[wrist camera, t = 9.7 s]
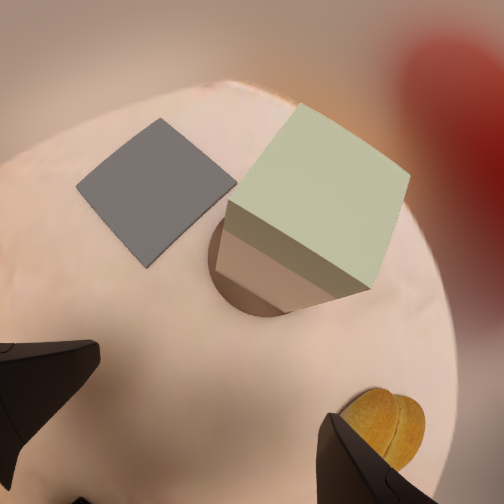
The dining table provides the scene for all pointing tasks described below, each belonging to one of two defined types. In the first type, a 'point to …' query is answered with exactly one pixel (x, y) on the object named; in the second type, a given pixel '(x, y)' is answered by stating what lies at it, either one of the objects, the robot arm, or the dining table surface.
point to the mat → (154, 189)
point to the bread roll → (388, 425)
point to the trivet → (236, 285)
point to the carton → (311, 215)
